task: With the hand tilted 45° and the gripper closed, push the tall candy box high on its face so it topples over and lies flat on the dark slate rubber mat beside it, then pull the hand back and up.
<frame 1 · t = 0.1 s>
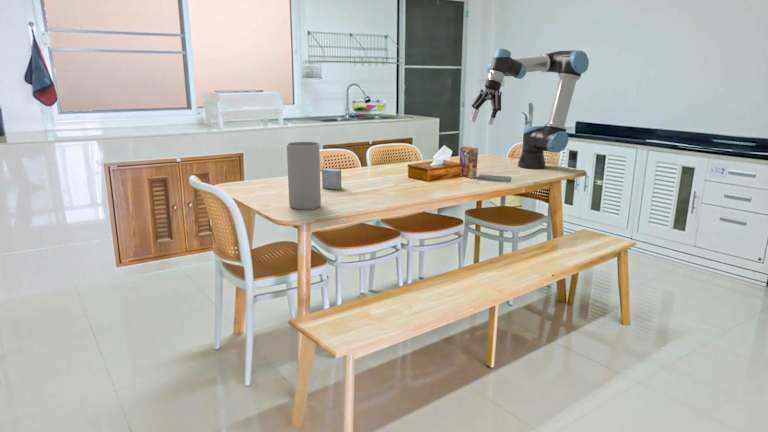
hand: (480, 123, 258), 28 cm above the table, tool tilted 20°, fingers open, 13 cm apart
slate mat: (494, 178, 266), on the table
cylinder vase: (305, 206, 209), on the table
medicine box: (332, 188, 241), on the table
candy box: (467, 177, 270), on the table
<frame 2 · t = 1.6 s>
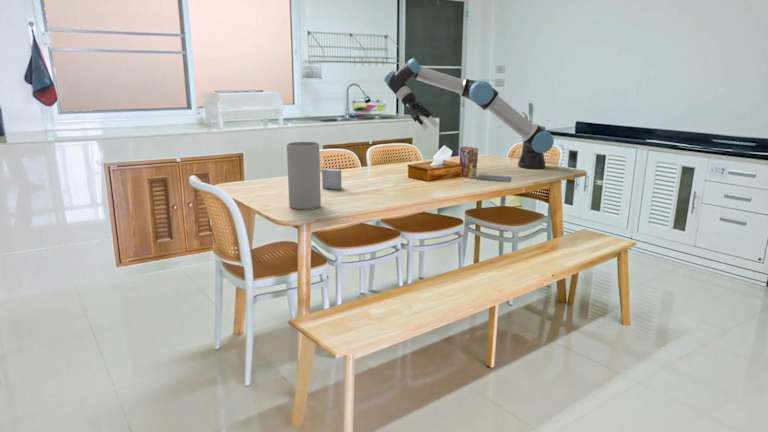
hand: (431, 127, 272), 24 cm above the table, tool tilted 45°, fingers open, 12 cm apart
nothing on the table moved.
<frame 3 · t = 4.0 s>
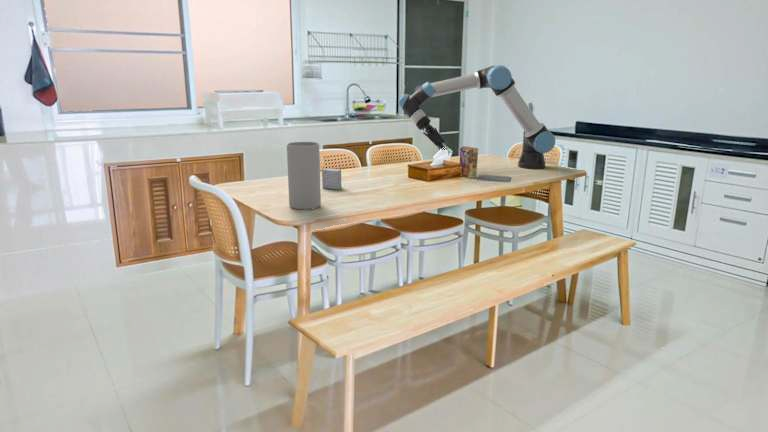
hand: (449, 154, 271), 11 cm above the table, tool tilted 45°, fingers closed
nothing on the table moved.
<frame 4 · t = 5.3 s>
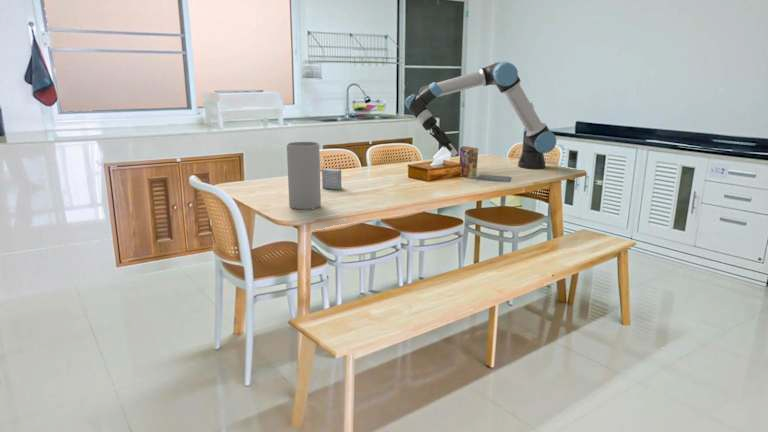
hand: (455, 154, 269), 11 cm above the table, tool tilted 45°, fingers closed
nothing on the table moved.
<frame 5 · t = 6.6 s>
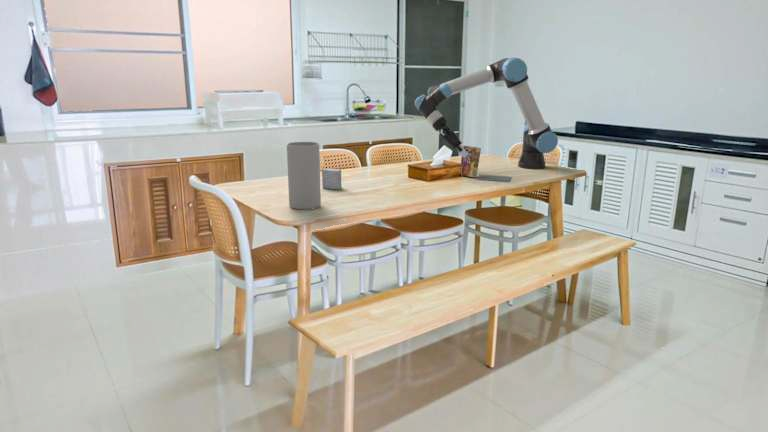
hand: (466, 155, 266), 11 cm above the table, tool tilted 45°, fingers closed
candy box: (467, 176, 270), on the table, touching gripper
everything else where it was.
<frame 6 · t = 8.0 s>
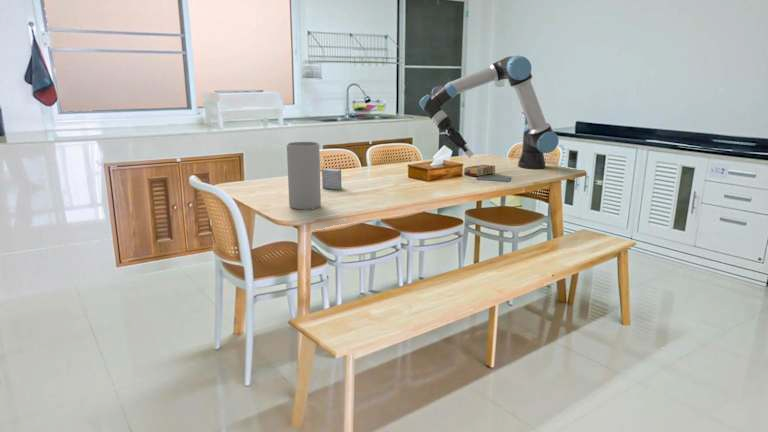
hand: (471, 155, 265), 11 cm above the table, tool tilted 45°, fingers closed
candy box: (469, 172, 270), point 2 cm above the table, touching slate mat
everything else where it was.
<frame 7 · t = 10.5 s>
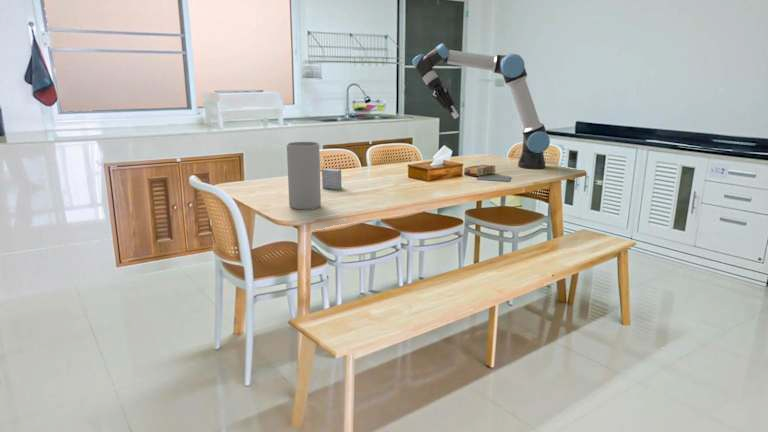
hand: (456, 117, 278), 29 cm above the table, tool tilted 40°, fingers closed
nothing on the table moved.
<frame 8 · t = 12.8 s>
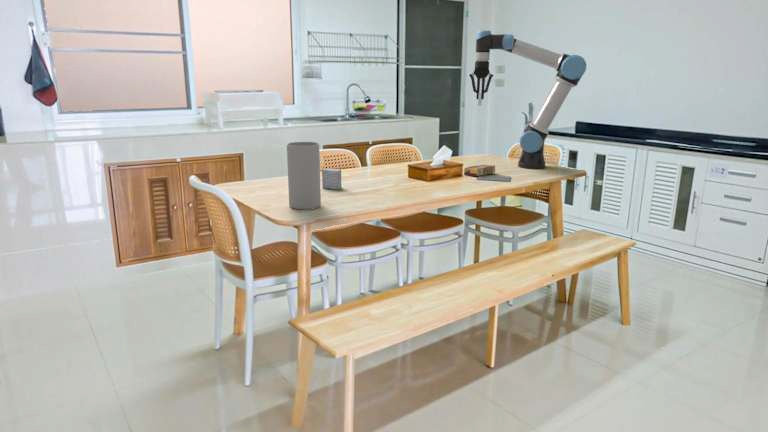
hand: (479, 105, 288), 34 cm above the table, tool pointing down, fingers closed
nothing on the table moved.
at the end: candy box tilted 89°; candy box touching slate mat, table; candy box inside the target area (7.9 cm from its centre), point 2.2 cm above the table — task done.
